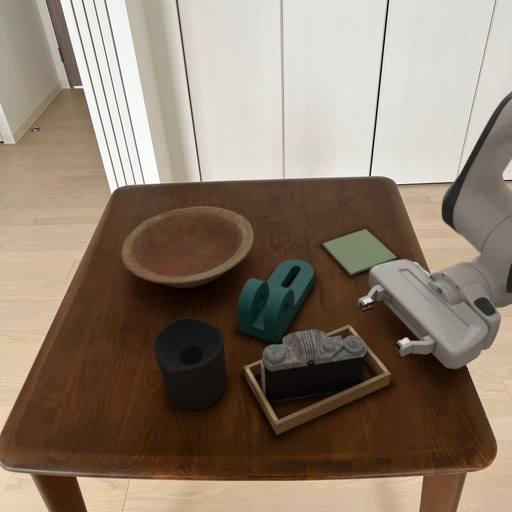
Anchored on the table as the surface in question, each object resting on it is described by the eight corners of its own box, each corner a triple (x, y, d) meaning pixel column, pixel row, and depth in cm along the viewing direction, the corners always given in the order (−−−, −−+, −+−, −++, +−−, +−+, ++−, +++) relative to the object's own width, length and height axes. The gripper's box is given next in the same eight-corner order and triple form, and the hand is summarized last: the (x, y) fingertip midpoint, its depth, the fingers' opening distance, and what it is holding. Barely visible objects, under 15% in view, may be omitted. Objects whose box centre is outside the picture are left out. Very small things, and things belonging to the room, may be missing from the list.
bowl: (257, 230, 104) (255, 198, 99) (253, 316, 85) (250, 281, 80) (143, 233, 105) (135, 200, 100) (115, 317, 87) (104, 282, 82)
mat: (396, 259, 95) (396, 256, 94) (350, 276, 92) (350, 273, 92) (365, 231, 102) (365, 228, 102) (322, 245, 99) (322, 243, 99)
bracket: (277, 344, 80) (276, 309, 75) (239, 331, 83) (236, 296, 78) (318, 274, 93) (320, 240, 88) (284, 265, 95) (284, 231, 90)
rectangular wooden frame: (389, 384, 74) (391, 373, 72) (276, 435, 68) (276, 425, 67) (348, 334, 81) (349, 324, 80) (244, 376, 76) (243, 366, 74)
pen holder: (219, 353, 80) (212, 308, 73) (237, 401, 73) (231, 356, 66) (160, 371, 77) (148, 326, 71) (172, 422, 71) (160, 378, 64)
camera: (351, 351, 78) (357, 307, 72) (365, 388, 73) (373, 344, 67) (257, 366, 77) (254, 322, 71) (264, 405, 72) (262, 361, 65)
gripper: (413, 242, 83) (341, 268, 79) (510, 325, 69) (427, 362, 65) (408, 271, 87) (339, 297, 83) (498, 355, 73) (419, 392, 69)
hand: (378, 326), depth 74 cm, fingers open, 8 cm apart
